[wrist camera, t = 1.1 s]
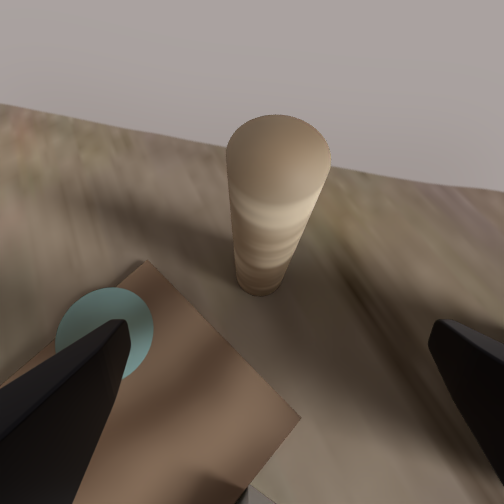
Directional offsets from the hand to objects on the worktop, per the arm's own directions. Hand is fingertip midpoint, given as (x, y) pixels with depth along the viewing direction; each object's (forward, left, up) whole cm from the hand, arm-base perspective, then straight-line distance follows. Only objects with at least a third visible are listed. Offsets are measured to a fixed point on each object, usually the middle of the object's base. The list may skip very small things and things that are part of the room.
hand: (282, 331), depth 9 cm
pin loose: (+4, -4, -12) cm, 13 cm away
